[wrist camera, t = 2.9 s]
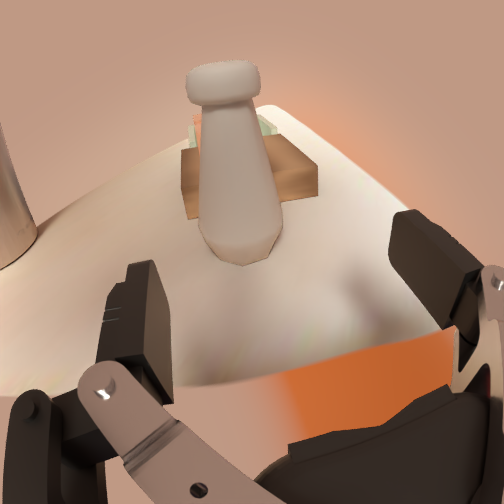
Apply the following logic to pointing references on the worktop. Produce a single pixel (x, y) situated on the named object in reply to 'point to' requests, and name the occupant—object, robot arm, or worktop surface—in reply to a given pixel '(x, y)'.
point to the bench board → (282, 165)
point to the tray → (264, 124)
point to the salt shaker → (234, 164)
